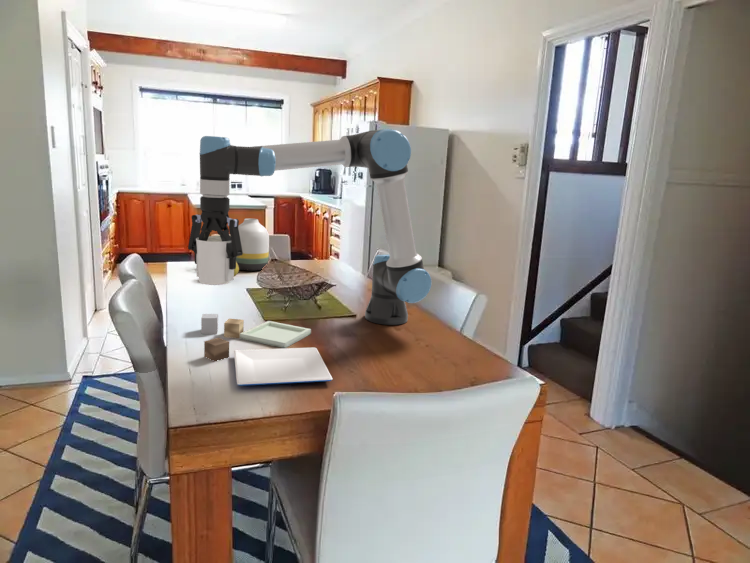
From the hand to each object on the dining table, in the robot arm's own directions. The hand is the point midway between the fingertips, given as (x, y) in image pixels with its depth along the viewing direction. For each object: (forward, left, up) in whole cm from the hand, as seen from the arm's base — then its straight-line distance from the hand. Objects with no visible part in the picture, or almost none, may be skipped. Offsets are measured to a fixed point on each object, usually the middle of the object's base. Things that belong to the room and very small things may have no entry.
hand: (215, 278), depth 145 cm
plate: (-26, +7, -20) cm, 33 cm away
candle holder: (0, 0, -1) cm, 1 cm away
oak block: (0, -9, -19) cm, 21 cm away
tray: (-11, -15, -19) cm, 27 cm away
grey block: (+8, -8, -19) cm, 22 cm away
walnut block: (-7, +8, -19) cm, 22 cm away
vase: (+52, -93, -19) cm, 108 cm away
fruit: (+47, -67, -19) cm, 84 cm away
